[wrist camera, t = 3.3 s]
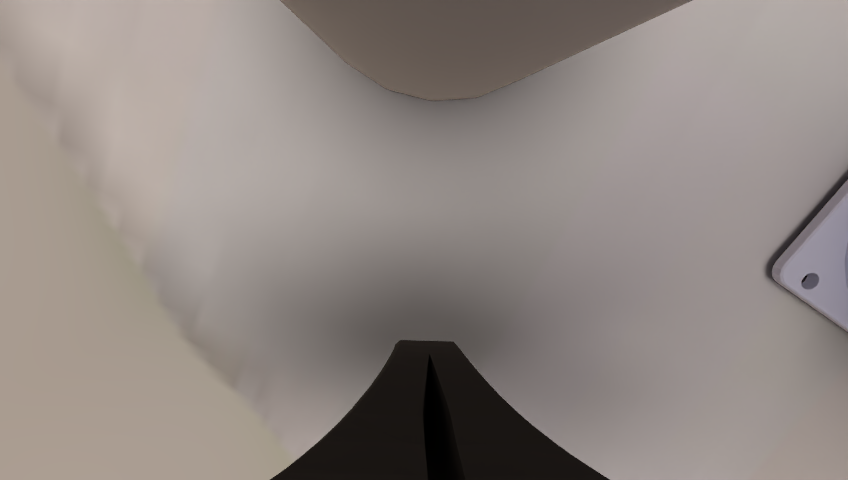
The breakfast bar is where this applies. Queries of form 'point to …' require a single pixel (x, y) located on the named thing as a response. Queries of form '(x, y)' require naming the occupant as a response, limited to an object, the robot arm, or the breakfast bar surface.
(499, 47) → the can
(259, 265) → the breakfast bar surface
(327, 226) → the breakfast bar surface
